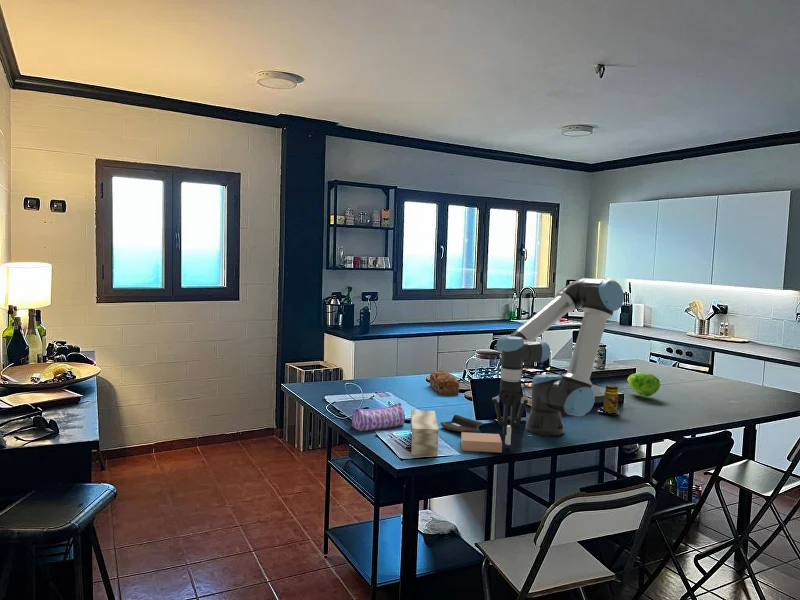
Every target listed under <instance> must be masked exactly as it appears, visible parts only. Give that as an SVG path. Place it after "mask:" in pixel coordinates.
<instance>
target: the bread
mask: <svg viewBox="0 0 800 600" xmlns="http://www.w3.org/2000/svg"><path fill="white" fill-rule="evenodd" d="M429 374H430V375H429V386H430V387H431V388H432V389H433V390H434V391H435V392H436V393H438V395H443V396H444V395H446V396H448V395H450V396H451V395H452V396H453V395H454V396H455V395H459V391H460V383H459V380H458V379H457V377H455V376H454V375H453V374H451V373H448V371H443V370H435V371H433V372H431V373H429Z"/></svg>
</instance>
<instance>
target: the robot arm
mask: <svg viewBox="0 0 800 600" xmlns="http://www.w3.org/2000/svg"><path fill="white" fill-rule="evenodd" d="M624 300H625V294H624V290H623V287H622V286H621V285H620V283H618V282H617V281H616V280H614V279H613V280H612V279H607V278H604V279H603V278H588V277H583V278H579V279H577V280H574V281H572V282H571V283H569V284H567V285H566V286H564V287H563V288H562V289H560V290H559V291H558V292H557V293H556V294H555V298H553V299H552V300H551V301H549V302H548V303H547V304H546V305H545V306H543V307H542V308H540V310H538V311H537V312H536V313H535V314H534V315H533V316H531V317H530V318H529V319H528V320H526V321H525V322H524V323H523V324H522V325H520V326H519V328H517V329H516V330H515V331H513V332H512V333H510V335H502V336H500V337H499V338H498V339H497V341H496V349H497V351H498V352H499V354H501V359H500V360H501V361H500V362H501V364H500V378H501V379H500V383H499V391H498V395H497V396H495V397H494V396H493V397H492V398H491V400H492V401H493V403H494V407H495V413H496V418H497V422H498V424H499V425H500V426H502V434H503V436H505V439H504V444H505V445H507V446H511V443H512V442H511V441H512V440H511V439H512V436H514V435H515V427H516V426H520V424H521V420H522V418H523V414H524V411H525V408H526V406H527V404H528V403H529V400H528V399H527V398H525V397H523V393H522V383H523V382H522V380H523V379H522V378H523V366H524V365H523V363H524V364H525V363H541V362H546V361H547V360H548V359H550V357H551V347H550V345H549V344H548V343H547V342H546V341H543V340H542V341H541V340H537V341H536V339H538V338H539V337H540V336H541V335H543V334H544V333H545V332H546V331H547V330H549V328H551V327H552V326H553V325H554V324H556V322H558V321H559V320H560V319H562V317H564V316H566V314H568V313H572V312H573V311H575V310H576V309H578V308H581V310H582V312H583V317H582V320H581V324H580V328H579V331H578V335H577V338H576V342H575V344H574V348H573V351H572V355H571V359H570V362H569V365H568V369H567V372H566V373H564V374H562V375H561V374H555V373H554V374H553V373H552V374H550V373H549V374H548V373H546V374H535V375H534V376H533V377H532V384H531V400H530V401H531V402H530V403H531V406H530V413H529V415H528V418H527V419H526V423H525V430H526V431H527V432H529V433H531V434H535V435H537V434H540V435H539V436H543V435H558V436H561V435H560V434H562V433H563V434H564V433H565V426H564V422H563V419H562V414H561V412H563V413H565V414H566V415H568V416H575V417H582V416H585V415H586V414H588V413H589V412H590V411H591V410H592V408H593V407H594V404H595V400H596V399H595V398H596V397H595V392H594V391H593V389H592V386H593V382H592V381H591V375H592V372H593V368H594V365H595V361H596V359H597V354H598V351H599V348H600V344H601V340H602V338H603V334H604V331H605V328H606V324H607V320H609V319H611V318H612V317H613V316H614V315H613V314H614V312H616V311H618V310H619V309H621V308H622V306H623V304H624ZM500 401H501V402H502V404H503V415H502V414H501V409H500V408H501V407H500V405H499V402H500ZM519 402H520V404H519ZM517 404H519V407H518V410H517V413H516V408H517ZM509 408H510V414H509ZM509 415H510V416H509ZM502 416H503V417H502ZM508 418H509V421H508ZM508 422H509V424H508ZM563 434H562V435H563Z"/></svg>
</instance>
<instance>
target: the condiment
mask: <svg viewBox="0 0 800 600" xmlns="http://www.w3.org/2000/svg"><path fill="white" fill-rule="evenodd" d="M618 388H619V387H618V386H617V385H615V384H607V385H605V388H604V395H603V396H604V397H603V407H601V408H602V409H604V411H605V412H603V411H600V410H599V409H598V410H597V412H600V413H606V412H608V413H607V414H611V413H617V410H618V406H619V392H618ZM617 414H618V413H617Z"/></svg>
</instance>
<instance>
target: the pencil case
mask: <svg viewBox="0 0 800 600" xmlns="http://www.w3.org/2000/svg"><path fill="white" fill-rule="evenodd" d="M352 409H353V410H354V411H353V412H352V414H351V415H352V416H351V426H352V428H354V429H355V430H357V431H359V432H366V431H372V430H373V431H374V430H381V429H387V428H393V427H394V428H395V427H399V426H403V425H404V423H405V421H406V414H405V410H404V409H403V407H402V402H401V403H400V402H397V403H394V404H392V405H388V406H384V407H379V408H372V409H370V408H369V409H361V408H355V407H353V408H352Z"/></svg>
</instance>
